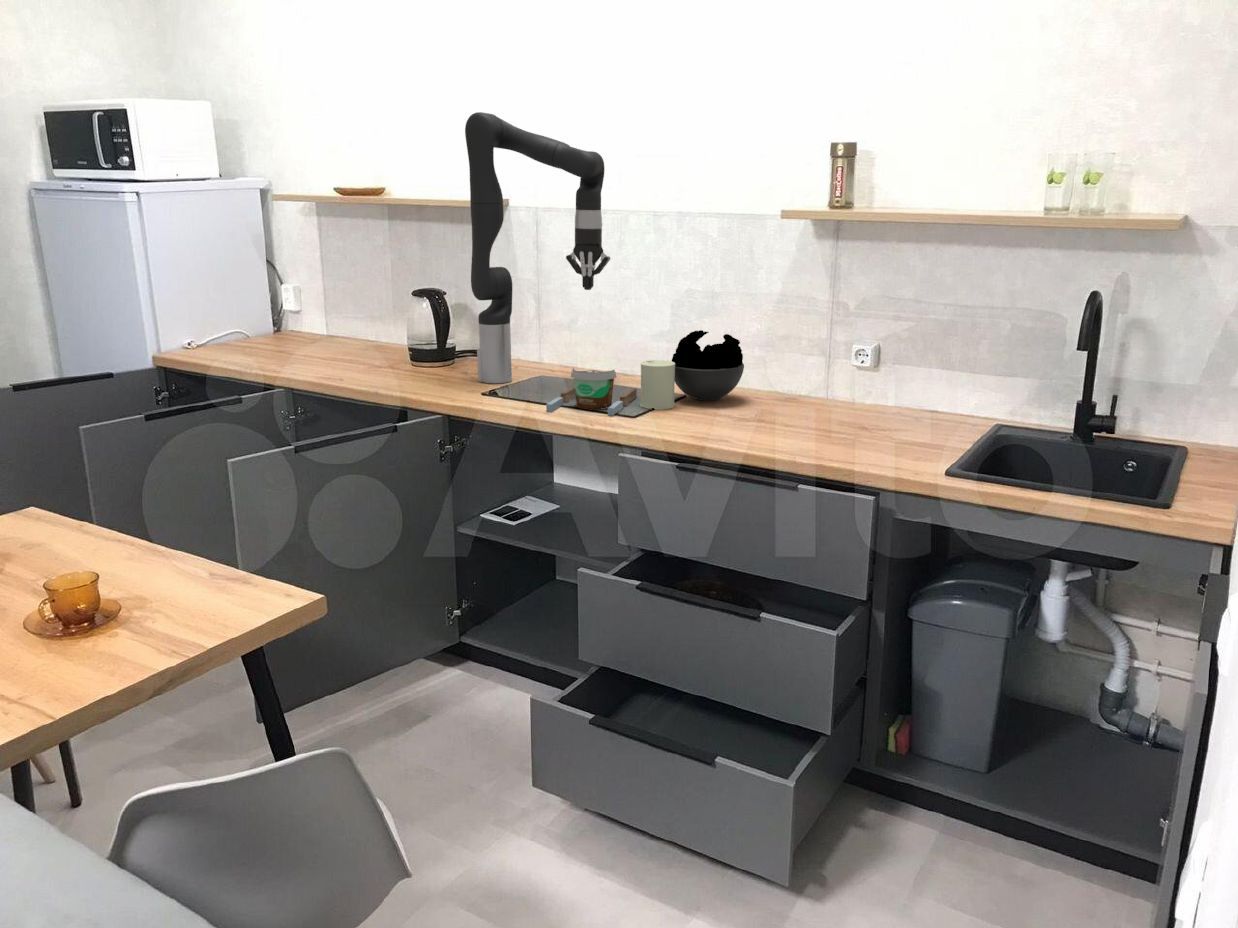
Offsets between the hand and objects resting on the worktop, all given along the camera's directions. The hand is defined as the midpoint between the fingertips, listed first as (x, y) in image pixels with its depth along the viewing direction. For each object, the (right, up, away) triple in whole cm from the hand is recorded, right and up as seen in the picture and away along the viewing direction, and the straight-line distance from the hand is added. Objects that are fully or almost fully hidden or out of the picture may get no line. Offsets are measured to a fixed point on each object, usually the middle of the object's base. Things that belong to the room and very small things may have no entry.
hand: (588, 289), depth 279 cm
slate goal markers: (0, -35, -22) cm, 42 cm away
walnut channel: (+3, -32, -10) cm, 34 cm away
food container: (+1, -35, -19) cm, 40 cm away
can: (+19, -34, -17) cm, 43 cm away
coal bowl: (+32, -32, -10) cm, 47 cm away
